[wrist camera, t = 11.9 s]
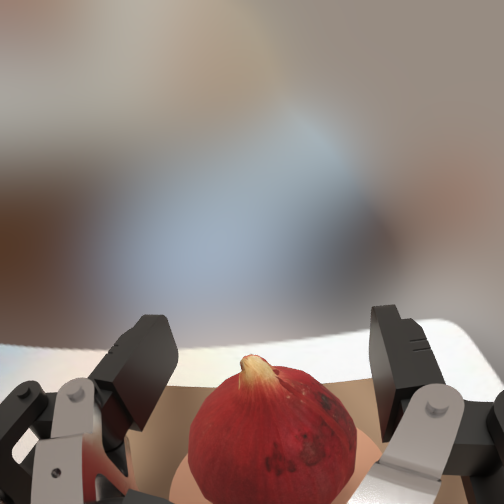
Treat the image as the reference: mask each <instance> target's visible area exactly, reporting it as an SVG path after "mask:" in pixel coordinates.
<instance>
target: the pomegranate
mask: <svg viewBox="0 0 504 504" xmlns="http://www.w3.org/2000/svg"><path fill="white" fill-rule="evenodd" d="M240 365H241V369H242V371H241V372H240V373H238V374H236V375H234V376H232V377H230V378H228V379H226V380H225V381H224V382H223V383H222V384H221V385H220V386H218V387H217V388H216V389H215V390H214V391H213V392H212V393H211V394H210V395H209V396H208V397H207V398H206V399H205V400H204V402H203V404H202V405H201V407H200V409H199V411H198V413H197V414H196V416H195V418H194V420H193V422H192V423H191V426H190V432H189V444H188V464H189V468H190V471H191V473H192V475H193V477H194V479H195V481H196V483H197V485H198V487H199V489H200V491H201V493H202V494H203V496H204V498H205V499H207V500H208V501H210V502H211V503H213V504H331V503H332V502H333V500H334V499H335V498H336V497H337V496H338V494H339V493H340V492H341V491H342V489H343V488H344V487H345V486H346V484H347V483H348V481H349V480H350V478H351V477H352V475H353V473H354V470H355V460H356V450H357V429H356V427H355V424H354V421H353V419H352V417H351V416H350V414H349V413H348V411H347V410H346V408H345V407H344V405H343V404H342V402H341V401H340V399H339V398H337V397H336V396H335V395H334V394H333V393H332V392H330V391H329V390H328V389H327V388H326V387H325V386H323V385H322V384H321V383H319V382H318V381H317V380H316V379H314V378H313V377H312V376H311V375H309V374H307V373H305V372H304V371H301V370H297V369H292V368H288V367H282V366H271V365H270V364H269V363H268V362H267V361H266V360H265V359H263V358H262V357H260V356H258V355H252V354H251V355H248V356H244V357H243V359H242V360H241V362H240Z"/></svg>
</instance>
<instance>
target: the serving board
mask: <svg viewBox="0 0 504 504" xmlns="http://www.w3.org/2000/svg"><path fill="white" fill-rule="evenodd" d="M322 385H323V386H325V387H326V388H327V389H328V390H329V391H330V392H332V393H333V394H334V395H335V396H336V397H337V398H339V399H340V401H341V402H342V404H343V405H344V407H345V408H346V410H347V411H348V413H349V414H350V416H351V417H352V419H353V421H354V424H355V427H356V429H357V450H356V460H355V470H354V473H353V475H352V477H351V478H350V480H349V481H348V483H347V484H346V486H345V487H344V488H343V489H342V491H341V492H340V493H339V494H338V496H337V497H336V498H335V499H334V500H333V502H332V503H331V504H347V502H348V501H349V500H350V498H351V497H352V495H353V494H354V493H355V491H356V490H357V488H358V487H359V485H360V484H361V482H362V481H363V479H364V478H365V476H366V474H367V473H368V471H369V470H370V468H371V467H372V466H373V464H374V463H375V462H376V461H378V460H379V459H380V458H381V456H382V454H383V453H384V451H385V449H386V447H387V446H388V444H389V442H387V443H382V438H381V430H380V423H379V416H378V409H377V403H376V396H375V390H374V384H373V378H369V379H361V380H353V381H345V382H336V383H325V384H322ZM215 389H216V388H207V387H181V386H166V387H165V389H164V391H163V393H162V395H161V396H160V398H159V400H158V402H157V404H156V406H155V408H154V410H153V412H152V414H151V416H150V418H149V420H148V422H147V423H146V425H145V427H144V429H143V431H142V432H139V431H135V430H130V429H129V430H128V432H127V433H126V435H127V437H128V439H129V442H130V449H131V457H132V463H133V470H134V476H135V481H136V485H137V487H138V489H139V491H140V492H143V493H146V494H150V495H153V496H157V497H161V498H165V499H166V500H168V501H170V502H172V503H174V504H213V503H211V502H210V501H208V500H207V499H205V498H204V496H203V494H202V493H201V491H200V489H199V487H198V485H197V483H196V481H195V479H194V477H193V475H192V473H191V471H190V468H189V464H188V444H189V432H190V426H191V423H192V422H193V420H194V418H195V416H196V414H197V413H198V411H199V409H200V407H201V405H202V404H203V402H204V400H205V399H206V398H207V397H208V396H209V395H210V394H211V393H212V392H213V391H214V390H215ZM440 480H441V481H442V482H441V486H440V489H439V491H438V494H437V496H436V498H435V500H434V502H433V504H468V502H467V498H466V494H465V491H464V487H463V483H462V480H461V476H457V475H441V479H440Z"/></svg>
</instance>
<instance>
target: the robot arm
mask: <svg viewBox="0 0 504 504" xmlns="http://www.w3.org/2000/svg"><path fill="white" fill-rule="evenodd" d="M369 361H370V367H371V373H372V378H373V384H374V390H375V396H376V403H377V409H378V416H379V423H380V430H381V438H382V443H387V442H389V444H388V446H387V447H386V449H385V451H384V453H383V454H382V456H381V458H380V459H379V460H378V461H376V462H375V463H374V464H373V466H372V467H371V468H370V470H369V471H368V473H367V474H366V476H365V478H364V479H363V481H362V482H361V484H360V485H359V487H358V488H357V490H356V491H355V493H354V494H353V495H352V497H351V498H350V500H349V501H348V502H347V504H433V502H434V500H435V498H436V496H437V494H438V491H439V489H440V486H441V482H442V481H441V480H440V479H441V475H457V476H461V480H462V483H463V487H464V491H465V494H466V498H467V502H468V504H504V390H503V391H502V392H500V393H499V394H498V396H497V397H496V399H495V401H494V402H474V401H467V400H464V399H463V398H462V396H461V394H460V393H459V392H458V391H457V390H456V389H454V388H453V387H451V386H448V385H446V383H445V381H444V378H443V376H442V373H441V371H440V368H439V366H438V363H437V361H436V359H435V356H434V354H433V352H432V350H431V347H430V345H429V342H428V340H427V338H426V336H425V333H424V331H423V329H422V327H421V326H420V325H419V324H417V323H416V322H415V321H414V320H413V319H411V318H410V319H401V318H400V315H399V313H398V310H397V308H396V306H395V305H384V306H373V307H372V309H371V323H370V338H369ZM177 363H178V349H177V346H176V343H175V341H174V338H173V335H172V332H171V329H170V326H169V323H168V320H167V318H166V317H165V316H164V315H143V316H142V317H141V318H140V319H139V321H138V322H137V323H136V325H135V326H134V327H133V328H131V329H129V330H128V331H127V332H125V333H124V334H122V335H121V336H120V337H119V339H118V340H117V341H116V343H115V344H114V346H113V347H111V349H110V350H109V351H108V354H106V355H105V356H104V358H103V359H102V360H101V361H100V363H99V364H98V365H97V366H96V368H95V369H94V370H93V372H92V373H91V374H90V375H89V377H88V378H76V379H73V380H71V381H69V382H67V383H66V384H64V385H63V386H62V387H61V388H60V390H59V391H58V392H54V393H45V392H44V391H43V389H42V387H41V386H40V384H39V383H38V382H36V381H26V382H23V383H21V384H20V385H18V386H17V387H16V388H15V389H14V390H13V391H12V392H11V393H10V394H9V395H8V396H7V397H6V398H5V399H4V401H3V402H2V403H1V404H0V504H174V503H172V502H170V501H168V500H166V499H165V498H161V497H157V496H153V495H150V494H146V493H143V492H140V491H139V489H138V487H137V485H136V481H135V476H134V470H133V463H132V457H131V449H130V442H129V439H128V437H127V435H126V433H127V432H128V430H129V429H130V430H135V431H139V432H142V431H143V429H144V427H145V425H146V423H147V422H148V420H149V418H150V416H151V414H152V412H153V410H154V408H155V406H156V404H157V402H158V400H159V398H160V396H161V395H162V393H163V391H164V389H165V387H166V385H167V383H168V381H169V379H170V377H171V375H172V374H173V372H174V370H175V368H176V366H177ZM28 428H30V429H31V430H32V432H33V433H34V434H35V435H36V436H37V438H38V439H39V440H38V442H37V443H36V444H35V446H34V447H33V448H32V450H31V451H30V452H29V454H28V455H27V456H26V457H25V459H24V460H23V461H22V463H21V464H18V463H17V462H16V461H15V460H14V459H13V457H12V449H13V447H14V445H15V444H16V443H17V442H18V440H19V439H20V438H21V437H22V436H23V434H24V433H25V432H26V431H27V429H28Z"/></svg>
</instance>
